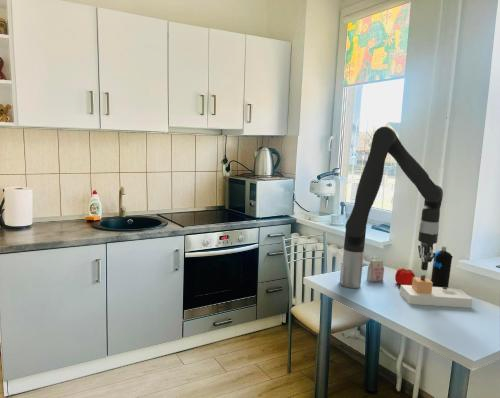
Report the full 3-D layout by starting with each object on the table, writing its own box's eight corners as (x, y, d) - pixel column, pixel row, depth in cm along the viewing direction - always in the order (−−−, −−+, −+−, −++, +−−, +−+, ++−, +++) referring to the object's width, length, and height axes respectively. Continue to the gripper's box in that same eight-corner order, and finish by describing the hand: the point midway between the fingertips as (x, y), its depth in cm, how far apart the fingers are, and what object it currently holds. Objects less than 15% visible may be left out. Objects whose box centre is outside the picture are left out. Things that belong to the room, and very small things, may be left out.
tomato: (416, 288, 186) (418, 273, 185) (398, 287, 186) (399, 272, 185) (409, 281, 195) (411, 267, 194) (391, 280, 196) (393, 266, 194)
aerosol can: (444, 284, 194) (449, 245, 191) (451, 290, 186) (456, 249, 183) (427, 282, 195) (432, 243, 192) (433, 289, 187) (438, 248, 184)
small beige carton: (366, 279, 196) (368, 259, 194) (378, 278, 198) (380, 259, 196) (371, 281, 192) (373, 262, 191) (382, 280, 194) (384, 261, 193)
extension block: (409, 303, 167) (410, 293, 167) (399, 293, 179) (400, 283, 179) (471, 307, 167) (472, 297, 166) (457, 296, 178) (458, 287, 178)
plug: (415, 297, 170) (418, 277, 169) (411, 292, 176) (413, 272, 174) (430, 298, 170) (433, 278, 169) (425, 293, 176) (428, 273, 174)
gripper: (414, 227, 175) (409, 264, 178) (426, 234, 162) (421, 274, 165) (431, 228, 175) (426, 265, 177) (444, 235, 162) (439, 275, 164)
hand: (424, 269), depth 171 cm, fingers closed
